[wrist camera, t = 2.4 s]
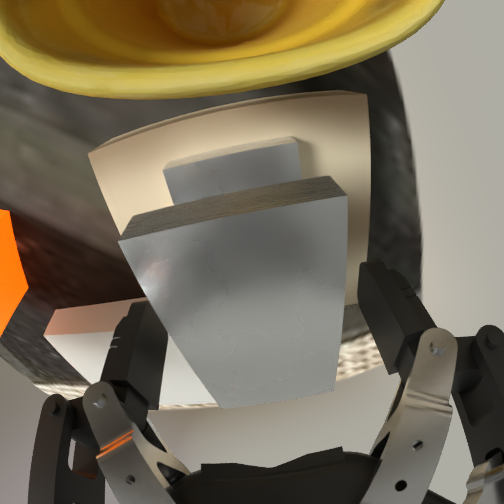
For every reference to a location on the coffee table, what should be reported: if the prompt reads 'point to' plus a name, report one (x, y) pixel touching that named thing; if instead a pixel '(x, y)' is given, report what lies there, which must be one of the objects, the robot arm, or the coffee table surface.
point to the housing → (247, 271)
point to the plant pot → (197, 42)
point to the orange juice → (9, 271)
